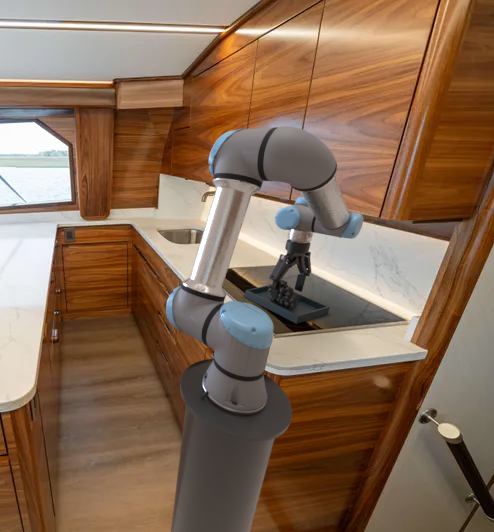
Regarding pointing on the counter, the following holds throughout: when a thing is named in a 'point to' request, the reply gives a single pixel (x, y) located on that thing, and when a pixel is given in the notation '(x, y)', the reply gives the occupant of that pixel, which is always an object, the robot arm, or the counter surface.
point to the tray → (300, 314)
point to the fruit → (285, 296)
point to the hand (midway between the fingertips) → (286, 293)
